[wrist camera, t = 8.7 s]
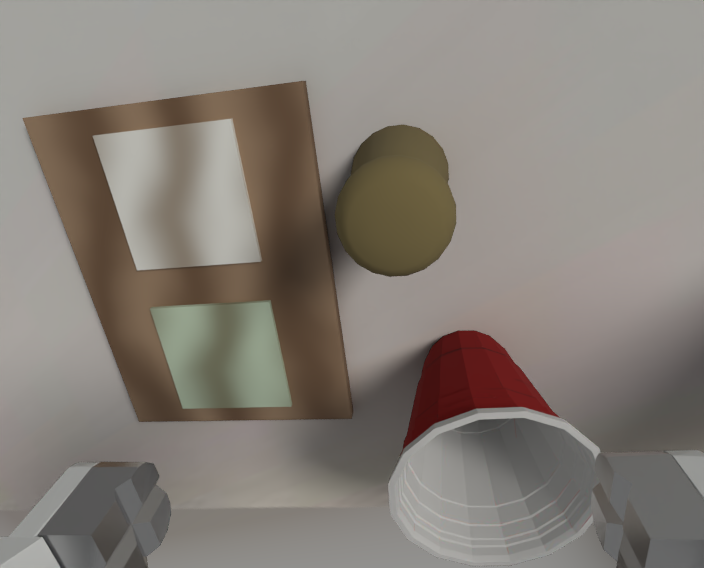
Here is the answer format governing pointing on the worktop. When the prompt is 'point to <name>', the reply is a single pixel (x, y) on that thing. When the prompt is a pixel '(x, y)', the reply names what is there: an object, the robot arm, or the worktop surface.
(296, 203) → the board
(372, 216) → the cork
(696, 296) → the worktop surface
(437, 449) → the plastic cup
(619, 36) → the worktop surface
